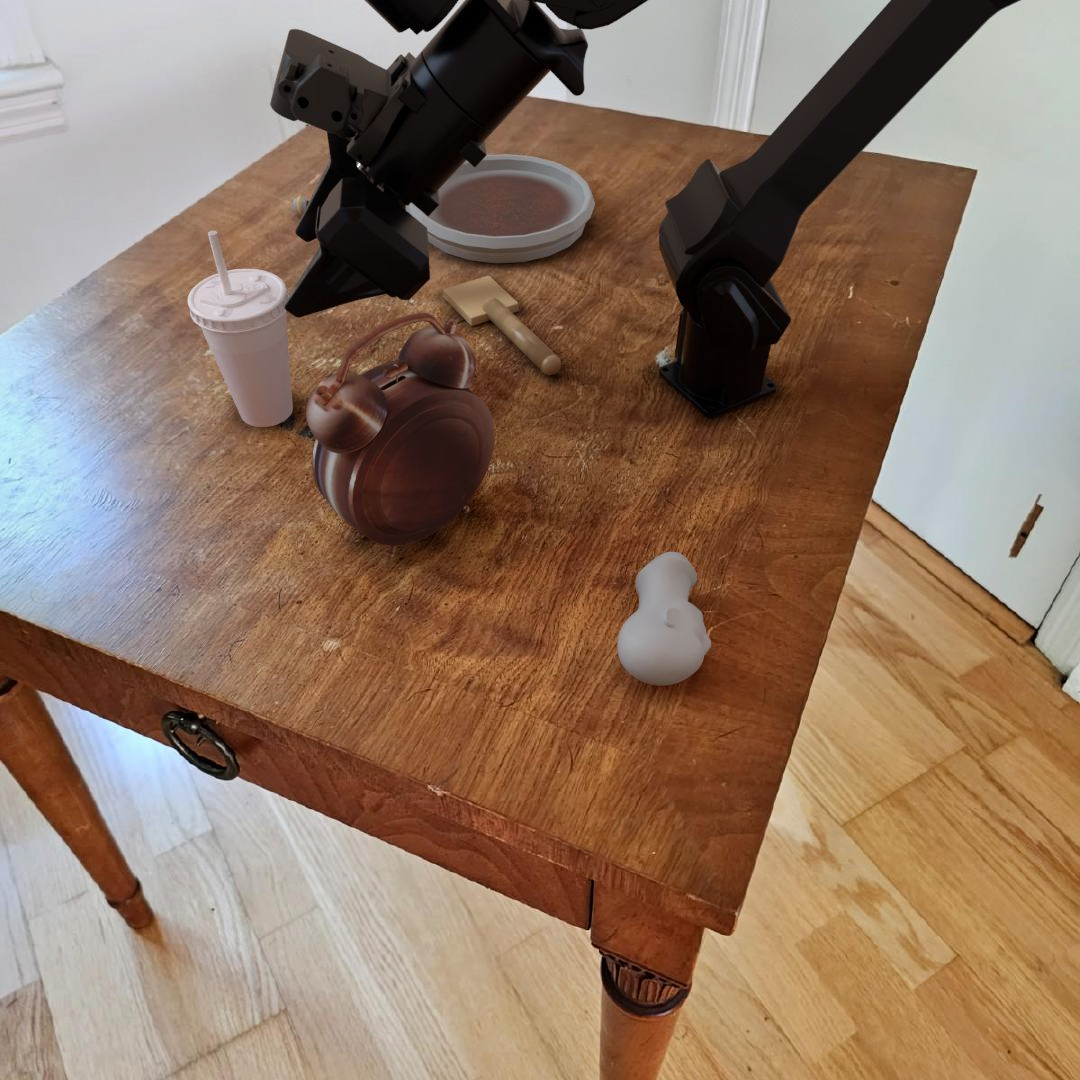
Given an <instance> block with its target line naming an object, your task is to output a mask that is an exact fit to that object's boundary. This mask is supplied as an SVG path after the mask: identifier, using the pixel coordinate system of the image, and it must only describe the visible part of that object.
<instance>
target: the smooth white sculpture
mask: <svg viewBox="0 0 1080 1080" xmlns="http://www.w3.org/2000/svg"><path fill="white" fill-rule="evenodd" d="M634 580H635V581H634V587H635V591H636V593H637V595H638V599H639V600H638V601H639V602H638V608H637V609H636V611H635V612H634V613H632V614H631V615H630V616H629V617H628V618H627V619H626V620H625V622H623V625H622V626H621V628H620V631H619V633H618V636H617V644H616V645H617V655H618V658H619V661H620V663H621V665H622V667H623V668H624V669H625V671H626V672H627V673H628V674H629V675H630V676H632V677H633V678H635V679H636V680H638V681H639V682H642V683H645V684H648V685H651V686H652V685H653V686H658V687H659V686H671V685H675V684H678V683H680V682H683V681H685V680H686V679H688V678H690V677H692V675H694V673H696V672H697V671H698V670H699V669H700V667H701V666H702V664H703V661H704V658H705V656H706V654H707V653H708V652H709V651H710V649H711V647H712V641H711V638H710V637H709V635H708V633H707V628H706V625H705V623H704V615H703V613H702V611H701V610H700V609H699V608H698V607H697V606H695V604H693V603H691V602H690V601H689V596H690V590H691V589H693V588H694V587H695V586H696V583H697V581H698V573H697V572H696V569H695V568H694V566H692V563H690V561H689V560H688V558H687V557H686V556H685V555H683V554H682V553H680V552H677V551H667V552H663V553H661V554H659V555H658V556H656V557H655V558H653V559H652V560H651V561H650V562H648V563H647V564H646V565H645V566H644V567H643V568H641V570H640V571H639V572H638V573H637V575H636V577H635V579H634Z"/></svg>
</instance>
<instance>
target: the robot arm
mask: <svg viewBox="0 0 1080 1080" xmlns="http://www.w3.org/2000/svg"><path fill="white" fill-rule="evenodd" d="M364 1H365V3H367V5H369V7H370V8H371V9H373V10H374V11H375V12H376V13H377V14H378V15H379V16H380V17H381V18H382V19H383V20H384V21H385V22H387V24H388V25H390V26H391V27H392V28H393V30H394V31H396V32H397V33H398V34H399V33H403V32H405V31H408V30H409V29H410V30H411V31H412V32H413V33H414V35H416V36H417V35H419V34H421V32H424V33H429V32H431V31H432V30H434V29H435V28H437V26H439V25H440V24H441V23H442V22H443V21H444V19H445V18H446V17H447V16H448V15H449V14H450V12H451V11H452V10H453V9H454V8H455V6H457V4H458V3H459V1H460V0H364ZM648 1H649V0H464V1H462V3H461V4H460V5H459V7H458V8H457V9H456V10H455V11H454V12H453V13H452V15H451V16H450V17H449V19H447V20H446V22H445V23H444V24H443V25H442V26H441V28H440V29H439V30H438V32H436V34H435V35H434V36H433V37H432V38H431V39H430V40H429V42H428V43H427V44H426V46H424V48H423V49H421V51H420V52H419V54H418V55H417V56H416V57H415V56H414V55H413V54H412V53H411V52H409V51H408V53H406V55H403V54H399V55H398V56H397V57H396V59H394V60H393V62H392V63H391V64H390V65H389V67H387V69H386V68H383V67H382V66H380V65H378V64H376V63H374V62H371V61H369V60H368V59H367V58H365V57H364V56H362V55H360V54H358V53H356V52H354V51H352V50H349V49H347V48H345V47H342V46H339V45H338V44H335V43H334V42H331V41H328V40H326V39H323V38H321V37H319V36H317V35H314V34H313V33H311V32H308V31H306V30H303V29H298V28H292V29H289V31H288V33H287V37H286V40H285V45H284V48H283V50H282V51H283V52H282V55H281V58H280V62H279V67H278V70H277V73H276V77H275V81H274V85H273V90H272V94H271V98H270V102H269V105H270V107H271V110H273V112H275V113H276V114H277V115H278V116H280V117H282V118H284V119H287V120H288V121H292V122H297V121H300V122H302V123H304V124H307V125H309V126H312V127H314V128H317V129H319V130H322V131H325V132H326V137H327V143H328V151H329V158H328V161H327V163H326V166H325V168H324V170H323V172H322V173H321V176H320V178H319V179H318V182H317V184H316V187H315V188H314V190H313V193H312V195H311V197H310V199H309V200H308V201H309V203H308V205H307V207H306V209H305V211H304V213H303V215H301V217H300V219H299V221H298V224H297V226H296V227H295V231H294V232H295V235H296V236H297V237H299V239H301V240H302V241H304V243H305V242H306V243H310V242H312V241H314V240H316V239H317V241H318V244H319V247H318V248H317V250H316V251H315V253H314V255H313V256H312V258H311V260H310V261H309V263H308V264H307V265H306V267H305V269H304V271H303V272H302V274H301V275H300V277H299V279H298V280H297V282H296V284H295V285H294V287H293V289H292V291H291V292H290V294H289V297H288V299H287V301H286V303H285V310H286V312H287V313H289V314H290V315H291V316H294V317H295V318H297V319H298V318H304V317H306V316H310V315H313V314H316V313H320V312H322V311H323V312H324V311H326V310H330V309H332V308H336V307H340V306H342V305H345V304H349V303H353V302H356V301H357V302H358V301H361V300H364V299H369V298H373V297H379V296H383V295H387V296H389V297H390V298H395V299H396V298H398V299H399V300H400V301H410V300H411V299H412V298H413V297H414V296H416V294H417V293H418V292H419V291H420V290H421V289H422V288H424V286H425V285H426V284H427V283H428V282H430V280H431V267H430V247H429V241H428V233H427V227H425V226H424V225H423V224H422V223H420V222H419V221H418V220H417V219H416V218H414V217H413V216H412V215H411V214H410V213H408V212H407V211H406V205H407V206H408V205H409V204H410V203H412V204H414V205H415V206H416V207H417V208H418V209H420V210H421V211H422V212H423V213H424V214H426V215H427V216H429V215H430V214H431V213H432V212H433V211H434V210H435V209H436V208H437V207H438V206H439V194H438V190H439V189H440V187H441V186H442V185H443V184H444V183H445V182H446V181H447V180H448V179H449V178H450V177H451V176H452V175H453V174H454V173H455V172H456V170H457V169H458V168H459V167H460V166H461V165H462V164H463V163H464V162H465V161H466V160H467V161H468V162H469V163H470V164H471V165H472V166H474V167H476V166H477V165H478V164H479V163H480V162H481V161H482V160H483V159H484V157H485V156H486V155H488V154H487V149H486V140H487V139H488V138H489V137H490V135H491V134H493V132H494V131H496V129H497V128H498V127H499V126H500V125H501V124H502V123H503V122H504V121H505V119H507V117H509V116H510V115H511V113H512V112H513V111H514V110H515V109H516V108H517V107H518V106H519V105H520V103H522V102H523V101H524V99H526V97H527V96H529V94H530V93H531V92H532V91H533V90H534V89H535V88H536V87H537V86H538V85H539V83H541V81H542V80H543V79H544V78H545V77H546V76H547V75H548V74H549V73H550V72H551V73H552V74H553V75H554V76H555V77H556V79H558V80H559V81H560V83H562V84H563V86H564V87H565V88H566V89H567V90H568V91H569V92H570V93H571V94H572V95H573V96H575V97H579V96H581V95H583V94H584V92H585V88H586V87H585V71H584V70H585V59H586V54H587V52H588V48H589V42H588V41H587V38H586V35H585V33H584V30H595V29H599V28H603V27H607V26H610V25H612V24H613V23H615V22H618V21H619V20H620V19H622V18H624V17H625V16H627V15H628V14H630V13H631V12H632V11H633V12H634V10H635V9H637V8H639V7H641V6H642V5H643V4H645V3H647V2H648ZM1020 1H1022V0H889V2H888V3H887V4H886V5H885V6H884V7H883V8H882V9H881V11H880V12H879V13H878V14H877V15H876V16H875V17H874V18H873V19H872V20H871V22H870V23H869V24H868V25H867V26H866V27H865V28H864V30H863V31H862V32H861V33H860V34H859V35H858V36H857V38H856V39H854V41H852V43H851V44H850V45H849V46H848V47H847V49H846V50H845V51H844V52H843V53H842V54H841V56H839V58H838V59H837V60H836V61H835V62H834V63H833V64H832V65H831V66H830V68H829V69H828V70H827V71H826V72H825V73H824V74H823V76H821V78H820V79H819V80H818V81H817V82H816V83H815V85H814V86H813V87H812V88H811V89H810V90H809V91H808V92H807V94H806V95H805V96H804V97H803V98H802V99H801V100H800V101H799V103H798V104H797V105H796V106H795V107H794V108H793V109H792V110H791V111H790V113H789V114H788V115H787V116H786V117H785V118H784V119H783V121H782V122H781V123H780V124H779V125H778V126H777V127H776V128H775V130H774V131H772V132H771V134H770V135H769V136H768V137H767V139H766V140H764V141H763V143H762V144H761V145H760V147H758V149H757V150H755V152H754V153H753V154H751V155H750V156H749V157H748V158H746V159H744V160H743V161H741V162H738V163H736V164H734V165H732V166H730V167H727V168H725V169H723V170H720V169H719V168H718V167H717V165H715V163H714V162H713V161H712V159H710V158H707V159H705V160H704V161H703V162H702V163H701V164H700V165H699V166H698V167H697V168H696V170H695V171H694V173H693V175H692V176H691V178H690V179H689V181H688V183H687V184H686V185H685V187H684V188H682V190H680V191H679V192H678V193H677V194H676V195H674V196H672V197H671V198H669V199H667V200H666V201H665V202H664V205H665V208H666V210H667V214H666V215H665V216H664V218H663V220H662V221H661V224H660V226H659V229H658V244H659V245H658V249H659V252H660V254H661V257H662V260H663V262H664V265H665V267H666V270H667V273H668V275H669V279H670V281H671V283H672V286H673V288H674V291H675V294H676V296H677V298H678V300H679V303H680V305H681V307H682V310H681V311H680V313H679V319H678V329H677V333H676V334H677V335H676V342H675V349H674V359H675V361H672V362H670V363H667V364H664V365H662V366H660V367H659V369H658V376H659V377H660V378H661V379H662V380H664V382H666V383H667V384H668V385H669V386H671V388H672V389H674V390H675V391H676V392H677V393H678V394H679V395H681V397H683V398H684V399H685V400H686V401H688V403H690V404H691V405H692V406H693V407H694V408H696V409H697V411H699V413H701V414H702V415H704V417H706V418H707V419H714V418H716V417H717V418H718V417H720V416H723V415H725V414H727V413H730V412H732V411H735V410H737V409H739V408H741V407H744V406H747V405H749V404H752V403H754V402H756V401H760V400H761V399H764V398H766V397H769V396H771V395H775V393H777V389H778V384H777V383H776V382H775V381H774V380H772V379H771V378H769V377H768V376H767V375H766V370H767V366H768V362H769V358H770V357H769V356H770V352H771V347H772V346H773V345H776V344H778V343H779V341H780V340H781V338H782V336H783V335H784V333H785V332H786V330H787V329H788V327H789V326H790V324H791V323H792V318H791V316H790V313H789V312H788V310H787V308H786V305H785V304H784V302H783V300H782V297H781V296H780V294H779V292H778V290H777V288H776V286H775V284H774V282H773V280H772V277H773V276H774V275H775V273H776V272H777V271H778V269H779V268H780V267H781V265H782V264H783V262H784V260H785V257H786V254H787V252H788V250H789V247H790V245H791V242H792V240H793V238H794V235H795V232H796V230H797V227H798V225H799V222H800V221H801V220H800V219H801V218H802V216H803V214H804V213H805V212H806V211H807V209H808V208H809V207H810V206H811V205H812V204H813V203H814V202H815V200H817V199H818V198H819V197H820V195H821V194H822V193H824V191H825V190H826V189H827V188H828V187H829V186H830V185H831V184H832V183H833V182H834V181H835V180H836V179H837V178H838V177H839V176H840V175H841V174H842V173H843V172H844V171H845V169H847V167H849V165H851V163H852V162H853V161H854V160H856V158H857V157H858V156H859V155H860V154H861V153H862V152H863V151H864V150H865V149H866V148H867V147H868V146H869V145H870V144H871V143H872V141H873V140H875V138H877V136H878V135H880V133H881V132H882V131H883V130H884V129H885V128H886V127H887V126H888V125H889V124H890V123H891V122H892V120H894V118H896V116H897V115H898V114H899V113H900V112H901V111H902V110H903V109H904V108H905V107H906V106H907V105H908V104H909V103H910V102H911V101H912V99H914V98H915V97H916V96H917V95H918V94H919V93H920V91H922V90H923V88H924V87H925V86H926V85H927V84H928V83H929V82H930V81H931V80H932V79H933V78H934V77H935V76H936V75H937V74H938V73H939V72H940V71H941V70H942V69H943V67H945V66H946V65H947V64H948V63H949V61H950V60H951V59H952V58H954V56H955V55H956V54H957V53H958V52H959V51H960V50H962V48H963V47H964V46H965V45H966V44H967V43H968V42H969V41H970V40H971V39H972V37H974V36H975V34H977V32H979V30H980V29H982V27H983V26H984V25H985V24H986V23H987V22H988V21H989V20H990V19H991V18H992V17H993V16H995V15H996V14H998V13H999V12H1000V11H1002V10H1004V9H1006V8H1008V7H1010V6H1012V5H1014V4H1016V3H1019V2H1020ZM539 4H542V5H543V4H544V5H545V7H546V8H547V9H548V10H549V11H550V12H551V13H552V14H553V15H555V17H556V18H557V19H558V20H560V21H563V22H564V23H567V24H569V25H571V26H573V27H576V28H575V29H574V28H573V29H568V28H561V27H559V26H558V25H557V23H556V22H555V21H554V20H553V19H552V18H551V17H550V16H549V15H548V14H547V13H546V12H545V11H544V9H543V8H542V7H541V6H540V5H539Z"/></svg>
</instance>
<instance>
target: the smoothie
mask: <svg viewBox="0 0 1080 1080" xmlns="http://www.w3.org/2000/svg"><path fill="white" fill-rule="evenodd" d="M207 237H208V239H209V240H208V241H209V244H210V246H211V251H212V255H213V259H214V263H215V266H216V270H217V273H215V274H212V275H210V276H208V277H205V278H204V279H201V281H199V282H198V283H196V285H195V286H194V287H192V289H191V290H190V291H189V294H188V296H187V305H188V309H189V315H190V318H191V319H192V321H193V322H194V323H195V324H196V325H197V326H199V327H200V328H201V331H202V333H203V335H204V338H205V341H206V342H207V345H208V347H209V349H210V351H211V353H212V356H213V358H214V360H215V362H216V364H217V366H218V369H219V371H220V374H221V375H222V378H223V380H224V383H225V384H226V387H227V389H228V391H229V393H230V396H231V398H232V400H233V402H234V405H235V407H236V409H237V411H238V413H239V415H240V418H241V420H242V421H243V422H244V423H245V424H247V425H249V426H252V427H256V428H269V427H274V426H276V425H280V424H281V423H284V422H285V421H287V419H288V418H290V416H291V415H292V413H293V409H294V405H293V404H294V403H293V393H292V378H291V363H290V349H289V336H288V334H289V333H288V321H287V320H288V319H287V311H286V310H285V303H286V301H287V299H288V297H289V296H290V294H289V292H288V289H287V284H286V283H285V282H284V280H283V279H282V278H281V277H280V276H278V275H276V274H275V273H272V272H270V271H267V270H263V269H257V268H236V269H230V270H227V266H226V261H225V258H224V255H223V249H222V247H221V243H220V239H219V234H218V231H216V230H209V231H208V232H207Z"/></svg>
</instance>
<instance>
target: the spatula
mask: <svg viewBox="0 0 1080 1080" xmlns="http://www.w3.org/2000/svg"><path fill="white" fill-rule="evenodd" d="M442 297H443V299H444V300H445V301H446V302H447V303H448V304H449V305H450V306H451V307H452V308H453V309H454V310H455V311H456V312H457V313H458V314H459V315H460V316H461V317H462V318H463V319H464V321H466V322H467V324H469V326H470V327H474V326H477V325H480V324H484V323H486V322H489V321H491V322H492V323H493V324H494V325H495V326H496V327H497V328H498V329H499V330H500V332H502V333H503V334H504V336H506V337H507V338H508V340H510V342H512V343H513V344H514V346H515V347H517V348H518V349H519V350H520V351H521V352H522V353H523V354H524V355H525V356H526V358H528V359H529V360H530V361H531V362H532V364H534V365H535V366H536V367H537V368H538V369H539V370H540V371H541V372H542V373H543V374H545V375H548V376H555V375H556V374H557V373H559V372H560V370H561V367H562V361H561V358H560V357H559V356H558V355H557V354H556V353H555V352H554V351H553V350H552V349H551V348H549V347H548V346H547V344H545V343H544V341H542V340H541V338H539V337H538V336H537V335H536V334H535V333H534V332H533V331H532V330H531V329H530V328H529V327H528V326H526V324H525V323H524V322H522V320H521V319H520V318H518V317H517V316H516V314H514V313H517V312H519V311H520V309H519V308H520V307H519V302H518V301H517V300H516V299H515V298H514V297H513V296H512V295H510V294H509V292H507V290H505V289H504V288H503V287H502V286H501V285H500V284H499V283H498V282H497V281H495V279H494V278H492V277H491V276H490V275H486V276H482V277H479V278H476V279H473V280H468V281H465V282H463V283H459V284H456V285H453V286H450V287H446V288H443V289H442Z"/></svg>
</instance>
